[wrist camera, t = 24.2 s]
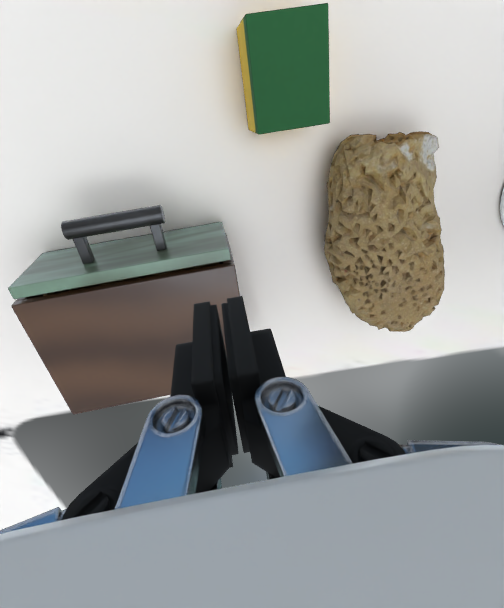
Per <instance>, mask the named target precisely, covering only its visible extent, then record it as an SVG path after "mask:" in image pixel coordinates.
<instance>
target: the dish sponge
mask: <svg viewBox="0 0 504 608" xmlns="http://www.w3.org/2000/svg"><path fill="white" fill-rule="evenodd" d="M237 37H238V46H239V54H240V62H241V70H242V79H243V87H244V95H245V104H246V112H247V120H248V128H249V130H250V131H252V132H254V133H257V134H265V133H271V132H277V131H284V130H290V129H296V128H303V127H309V126H315V125H321V124H328V123H330V107H329V29H328V3H324V4H317V5H310V6H302V7H295V8H288V9H280V10H273V11H265V12H258V13H251V14H246V15H245V16H244V18H243V19H242V21H241V23H240V24H239V26H238V27H237Z"/></svg>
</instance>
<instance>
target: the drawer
mask: <svg viewBox="0 0 504 608" xmlns="http://www.w3.org/2000/svg"><path fill="white" fill-rule="evenodd" d="M162 223H165V216H164V212H163V209H162V206H161V205H158V206H152V207H146V208H140V209H134V210H128V211H122V212H116V213H111V214H105V215H99V216H93V217H87V218H81V219H75V220H69V221H63V222H62V224H61V228H62V232H63V234H64V236H65V238H66V239H68V240H69V239H73V241H74V243H75V246H76V247H75V248H69V249H63V250H58V251H52V252H46V253H42V254H41V255H40V256H39V257H38V258H37V259H36V260H35V261H34V262H33V263H32V265H31V266H30V267H29V268H28V269H27V270H26V271H25V272H24V273H23V274H22V275H21V276H20V277H19V278H18V279H17V280H16V281H15V282H14V283H13V284H12V285H11V286H10V287H9V288H8V289H9V291H10V293H11V295H12V297H13V298H14V299H18V298H24V297H29V296H35V295H40V294H43V296H47V295H52V294H58V293H63V292H69V291H74V290H80V289H85V288H91V287H96V286H102V285H107V284H113V283H118V282H123V281H129V280H134V279H140V278H145V277H151V276H156V275H162V274H167V273H173V272H178V271H184V270H189V269H195V268H200V267H206V266H211V265H217V264H219V262H222V261H227V260H231V257H230V251H229V247H228V243H227V239H226V236H225V232H224V228H223V224H222V222H218V223H212V224H207V225H201V226H195V227H189V228H184V229H178V230H172V231H166V232H163V229H162V226H161V224H162ZM145 226H150V229H151V232H152V234H149V235H143V236H138V237H132V238H126V239H121V240H115V241H109V242H103V243H98V244H92V245H89V243H88V240H87V236H93V235H98V234H104V233H110V232H116V231H122V230H127V229H133V228H139V227H145Z"/></svg>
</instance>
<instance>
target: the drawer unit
mask: <svg viewBox="0 0 504 608" xmlns="http://www.w3.org/2000/svg"><path fill="white" fill-rule="evenodd" d="M225 236H226V239H227V235H226V233H225ZM227 243H228V239H227ZM228 247H229V251H230V257H231V260H227V261H222V262H219V264H217V265H211V266H206V267H200V268H195V269H189V270H184V271H178V272H173V273H167V274H162V275H156V276H151V277H145V278H140V279H134V280H129V281H123V282H118V283H113V284H107V285H102V286H96V287H91V288H85V289H80V290H74V291H69V292H63V293H58V294H52V295H47V296H43V294H40V295H35V296H29V297H24V298H18V299H17V300H16V301H15V302H14V303H13V305H12V308H13V310H14V312H15V314H16V315H17V317H18V319H19V321H20V322H21V324H22V326H23V328H24V329H25V331H26V333H27V335H28V336H29V338H30V340H31V342H32V343H33V345H34V347H35V349H36V350H37V352H38V354H39V356H40V357H41V359H42V361H43V363H44V364H45V366H46V368H47V370H48V371H49V373H50V375H51V377H52V379H53V380H54V382H55V384H56V386H57V387H58V389H59V391H60V393H61V394H62V396H63V398H64V400H65V401H66V403H67V405H68V407H69V408H70V410H71V412H72V414H78V413H83V412H88V411H93V410H98V409H102V408H108V407H113V406H118V405H122V404H127V403H132V402H137V401H142V400H147V399H152V398H156V397H161V396H166V395H171V386H172V377H173V367H174V357H175V348H176V345H177V344H182V343H188V342H192V341H193V312H194V304H197V303H203V302H209V301H210V304H211V305H217V309H218V314H219V319H220V324H221V330H222V335H223V340H224V345H225V350H226V344H225V335H224V325H223V315H222V306H221V304H222V303H227V298H233V297H239V296H240V294H239V288H238V282H237V276H236V270H235V265H234V261H233V257H232V254H231V250H230V246H229V243H228ZM226 355H227V354H226Z"/></svg>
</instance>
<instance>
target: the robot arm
mask: <svg viewBox="0 0 504 608" xmlns="http://www.w3.org/2000/svg"><path fill="white" fill-rule="evenodd" d="M500 214H501V220H502V223H503V225H504V189H503V192H502V196H501V203H500ZM221 306H222V315H223V325H224V335H225V344H226V350H225V345H224V340H223V335H222V330H221V324H220V319H219V314H218V309H217V305H211V304H210V301H209V302H203V303H197V304H194V312H193V341H192V342H188V343H182V344H177V345H176V348H175V357H174V367H173V377H172V386H171V396H170V397H169V398H166V399H164V400H162V401H161V402H159V403H158V404H157V405H155V406H154V408H153V409H152V410H151V411H150V413H149V415H148V417H147V419H146V422H145V425H144V428H143V431H142V434H141V436H140V439H139V442H138V443H137V444H136V445H135V446H134V447H132V448H131V449H130V450H129V451H128V452H127V453H126V454H125V455H124V456H122V457H121V458H120V459H119V460H118V461H117V462H116V463H114V464H113V465H112V466H111V467H110V468H109V469H108V470H106V471H105V472H104V473H103V474H102V475H101V476H100V477H98V478H97V479H96V480H95V481H94V482H93V483H92V484H91V485H89V486H88V487H87V488H86V489H85V490H84V491H83V492H81V493H80V494H79V495H78V496H77V497H76V499H74V501H73V502H72V503H71V504H70V505H69V507H68V508H67V509H65V510H63V511H61V509H60V508H59V507H57V508H55V509H52V510H50V511H47V512H45V513H42V514H40V515H37V516H35V517H32V518H30V519H27V520H25V521H22V522H20V523H17V524H15V525H12V526H10V527H7V528H5V529H2V530H0V608H504V445H497V444H494V443H488V442H461V441H414V440H412V441H411V440H408V442H407V445H399V444H398V443H396V442H395V441H393V440H392V439H390V438H388V437H386V436H384V435H382V434H380V433H378V432H375V431H373V430H371V429H369V428H367V427H364V426H362V425H360V424H358V423H355V422H353V421H351V420H349V419H346V418H344V417H342V416H340V415H338V414H335V413H333V412H331V411H329V410H326V409H324V408H322V407H319V406H318V405H317V404H316V402H315V400H314V399H313V397H312V395H311V394H310V392H309V390H308V389H307V387H306V386H305V385H304V384H303V383H302V382H300V381H298V380H297V379H293V378H290V377H286V376H285V373H284V370H283V366H282V363H281V360H280V357H279V354H278V350H277V347H276V344H275V341H274V338H273V334H272V331H271V329H264V330H258V331H253V332H250V330H249V325H248V321H247V316H246V311H245V307H244V302H243V298H242V296H239V297H233V298H227V303H222V304H221ZM226 354H227V355H226ZM232 396H233V399H232ZM233 400H234V406H235V411H236V416H237V421H238V426H239V430H240V436H241V440H242V446H243V451H244V453H246V452H250V453H251V458H252V463H254V464H255V465H257V466H259V467H260V468H262V469H264V470H265V471H266V474H267V479H268V480H264V481H259V482H253V483H248V484H243V485H237V486H232V487H227V488H222V486H221V477H222V475H223V474H224V473H225V472H226V471H227V470H228V469H229V467H233V463H232V455H235V454H238V445H237V436H236V427H235V418H234V409H233ZM221 488H222V489H221Z"/></svg>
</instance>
